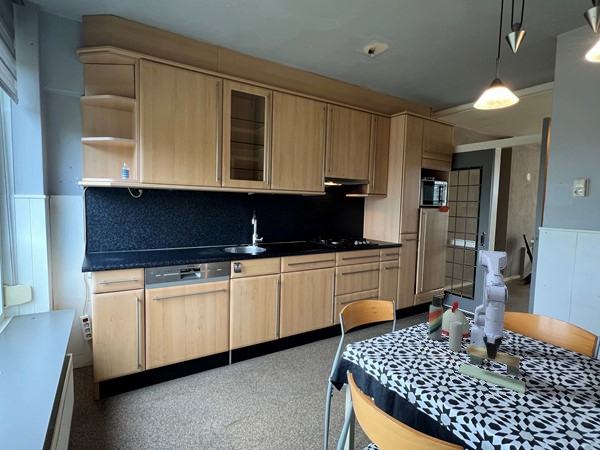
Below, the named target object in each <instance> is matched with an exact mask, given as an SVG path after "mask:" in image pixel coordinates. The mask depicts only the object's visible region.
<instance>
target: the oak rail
mask: <svg viewBox="0 0 600 450" xmlns="http://www.w3.org/2000/svg"><path fill="white" fill-rule="evenodd" d="M466 354H468V355H474V356H478V357H481V358H483V359H485V360H489V361H492V362H496V363H500V364H504V365H506V366H507V365H510V366H513V367H517V368H519V369H520V362H521V357H518V356H515V355H512V354H507V353H503V352H501V351H497V354H496V357H495V359H491V358H488V356H487V350H486V349H485V348H481V347H477V346H474V345H470V344H469V343H468V344H467V345H466Z"/></svg>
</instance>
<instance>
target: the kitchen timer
mask: <svg viewBox="0 0 600 450" xmlns="http://www.w3.org/2000/svg"><path fill="white" fill-rule="evenodd" d="M451 321H459V322H461V323H462V325H463V327H462V338H468V337H469V336H470V334H471V330H470V320H469V319H467V317H466V316H465V314H464V313H463V312H462V311H461V309H459V302H458V300H457V301H456V300H455V301H454V302H453V305H452V307H451V308H449V309H447V310H446V311H444V312H443V320H442V335H443V334H444V335H446V336H449V333H450V322H451Z"/></svg>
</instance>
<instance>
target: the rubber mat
mask: <svg viewBox="0 0 600 450" xmlns="http://www.w3.org/2000/svg"><path fill="white" fill-rule="evenodd" d="M457 373H458V374H462V375H463V376H464V375H465V376H468V377H470V378H473V379H474V378H475V379H476V380H477V379H478V380H479V381H483V382H487V383H490V384H493V385H496V386H500V387H501V388H505V389H508V390H511V391H515V392H518V393H519V394H520V393H521V394H525V392H526V391H525V390H526V381H523V380H520V379H517V378H513V377H510V376H507V375H503V374H500V373H497V372H493V371H490V370H487V369H483V368H480V367H477V366H474V365H470V364H466V363H464V362H462V363H461V365H460V366H459V367H458V370H457Z"/></svg>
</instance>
